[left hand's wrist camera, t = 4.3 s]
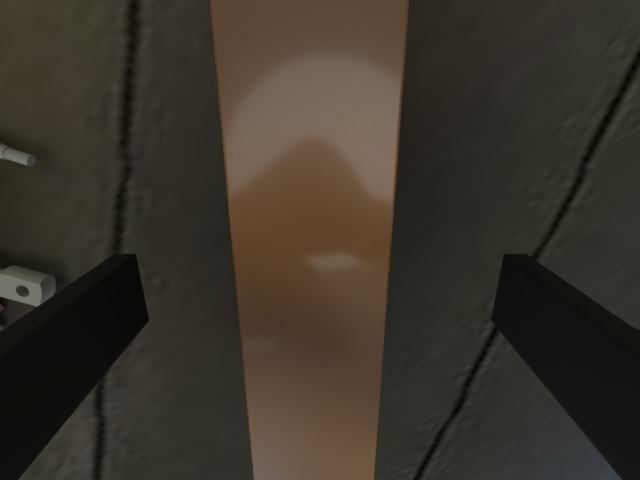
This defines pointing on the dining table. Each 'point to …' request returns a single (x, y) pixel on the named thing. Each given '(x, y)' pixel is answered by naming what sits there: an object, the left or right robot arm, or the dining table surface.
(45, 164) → the dining table surface
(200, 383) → the dining table surface
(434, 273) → the dining table surface
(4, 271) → the clamp
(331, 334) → the bar
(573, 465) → the dining table surface
